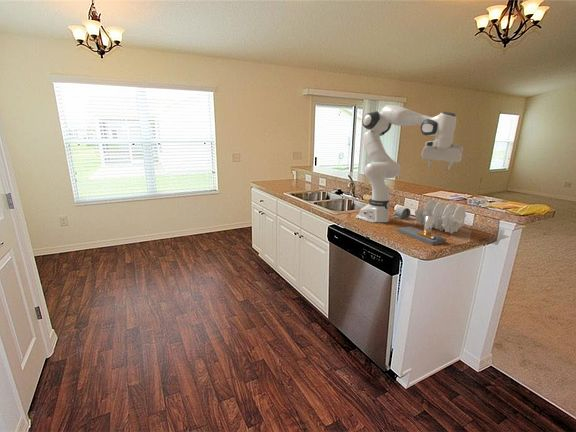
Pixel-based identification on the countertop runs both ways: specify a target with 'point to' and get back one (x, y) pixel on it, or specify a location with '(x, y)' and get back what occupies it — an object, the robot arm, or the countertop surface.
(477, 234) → the countertop surface
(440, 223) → the spiral staircase
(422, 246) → the countertop surface
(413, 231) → the board
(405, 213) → the ceramic mug
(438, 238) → the hook
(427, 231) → the metal post on plate
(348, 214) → the countertop surface
